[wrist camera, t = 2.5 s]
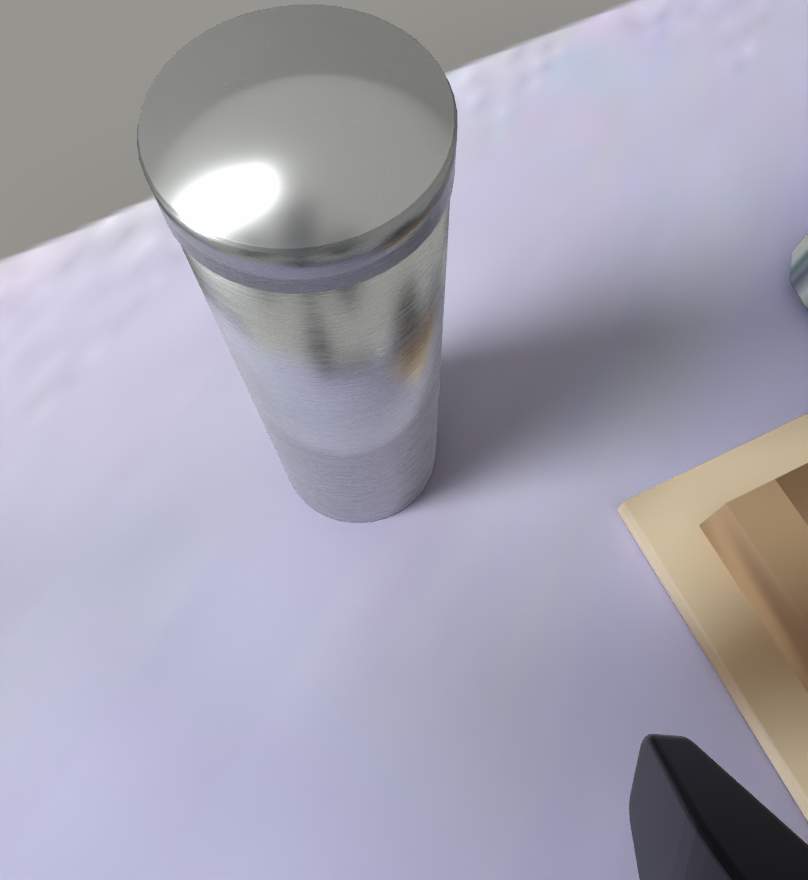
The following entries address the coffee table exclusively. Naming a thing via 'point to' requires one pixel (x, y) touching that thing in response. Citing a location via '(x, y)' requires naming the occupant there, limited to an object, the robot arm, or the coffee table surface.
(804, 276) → the octagon-capped white rod
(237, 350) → the metal canister
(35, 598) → the coffee table surface
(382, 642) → the coffee table surface
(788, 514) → the jig
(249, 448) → the coffee table surface
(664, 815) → the robot arm
